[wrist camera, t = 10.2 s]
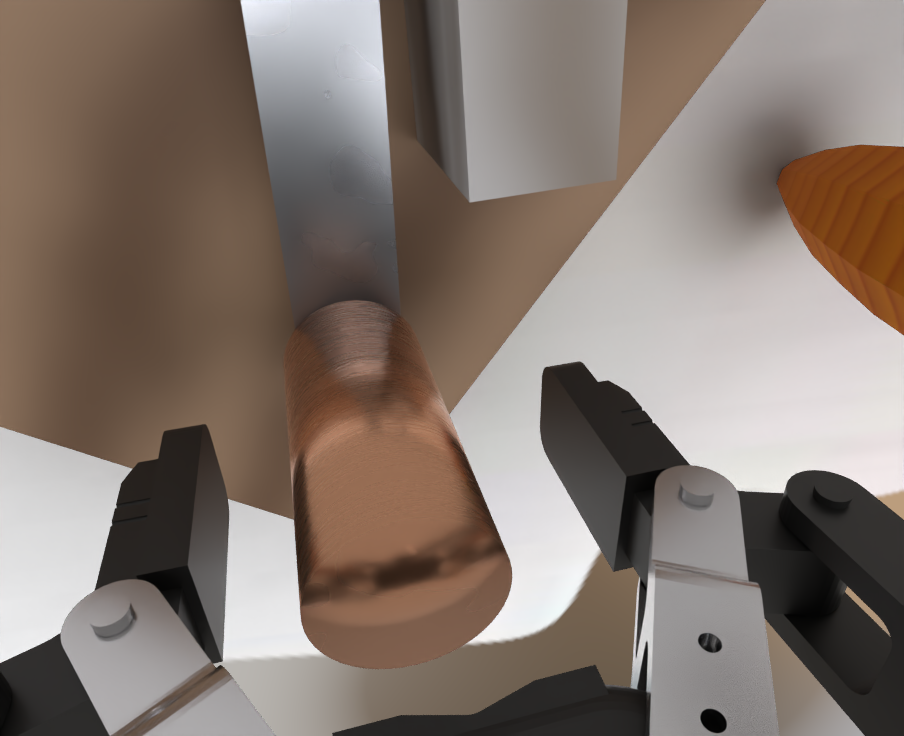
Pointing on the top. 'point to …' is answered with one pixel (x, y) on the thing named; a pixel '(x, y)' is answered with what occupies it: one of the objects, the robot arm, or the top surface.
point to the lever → (361, 363)
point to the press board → (253, 211)
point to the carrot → (853, 220)
